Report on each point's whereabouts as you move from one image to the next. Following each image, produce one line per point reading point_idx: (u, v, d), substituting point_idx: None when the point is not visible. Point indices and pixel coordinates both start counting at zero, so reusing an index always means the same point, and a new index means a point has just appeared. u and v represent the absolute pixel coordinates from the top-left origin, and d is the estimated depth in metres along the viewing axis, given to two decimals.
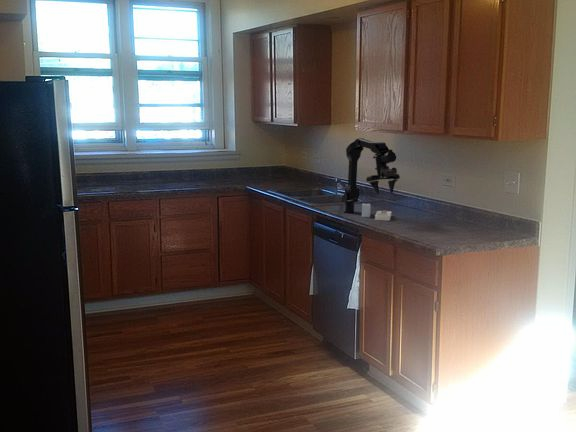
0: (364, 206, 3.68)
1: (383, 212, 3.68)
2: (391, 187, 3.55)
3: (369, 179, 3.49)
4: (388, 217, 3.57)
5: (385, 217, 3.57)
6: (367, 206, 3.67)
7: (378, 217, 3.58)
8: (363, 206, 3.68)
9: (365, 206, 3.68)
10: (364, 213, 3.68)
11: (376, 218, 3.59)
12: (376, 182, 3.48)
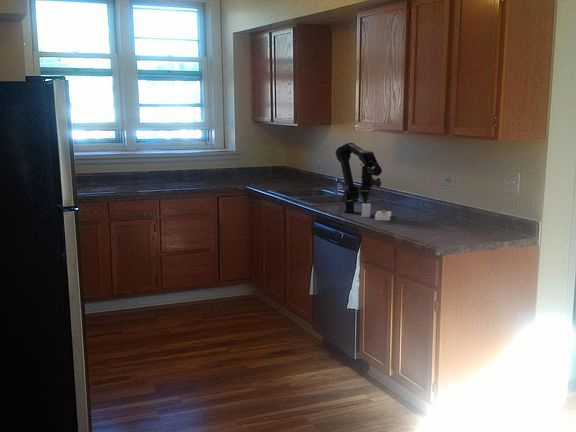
0: (364, 206, 3.68)
1: (383, 212, 3.68)
2: (367, 194, 3.73)
3: (365, 189, 3.59)
4: (388, 217, 3.57)
5: (385, 217, 3.57)
6: (367, 206, 3.67)
7: (378, 217, 3.58)
8: (363, 206, 3.68)
9: (365, 206, 3.68)
10: (364, 213, 3.68)
11: (376, 218, 3.59)
12: (369, 192, 3.62)
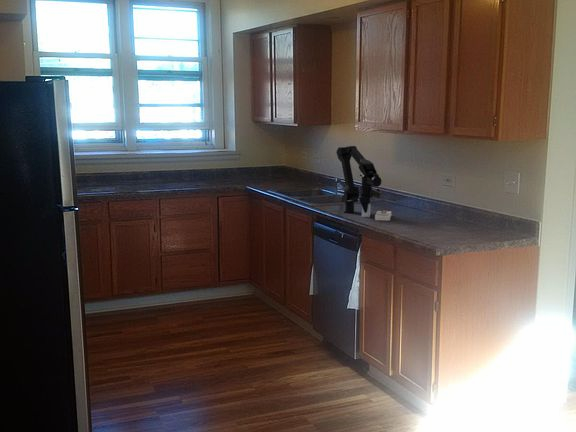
0: None
1: (383, 212, 3.68)
2: None
3: (365, 200, 3.60)
4: (388, 217, 3.57)
5: (385, 217, 3.57)
6: None
7: (378, 217, 3.58)
8: None
9: None
10: (364, 213, 3.68)
11: (376, 218, 3.59)
12: (369, 202, 3.65)
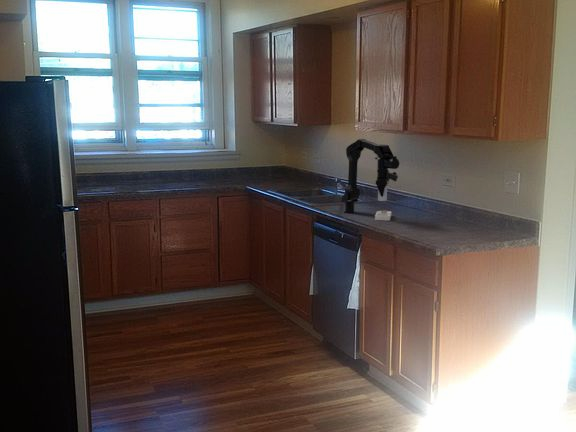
0: None
1: (383, 212, 3.68)
2: None
3: (382, 183, 3.50)
4: (388, 217, 3.57)
5: (385, 217, 3.57)
6: None
7: (378, 217, 3.58)
8: None
9: None
10: (380, 197, 3.58)
11: (376, 218, 3.59)
12: (386, 185, 3.54)
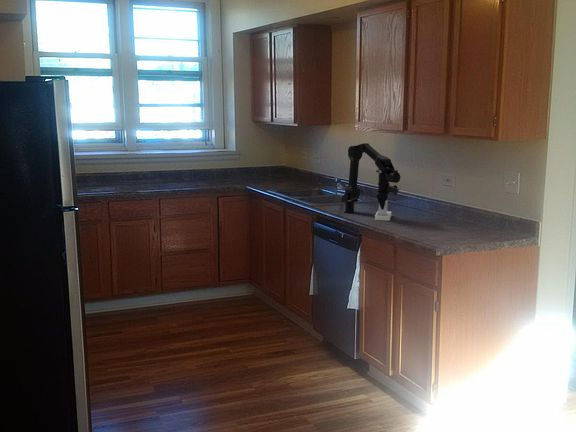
0: None
1: None
2: None
3: (382, 196, 3.50)
4: (388, 217, 3.57)
5: (385, 217, 3.57)
6: None
7: (378, 217, 3.58)
8: None
9: None
10: (381, 210, 3.59)
11: (376, 218, 3.59)
12: (386, 199, 3.55)
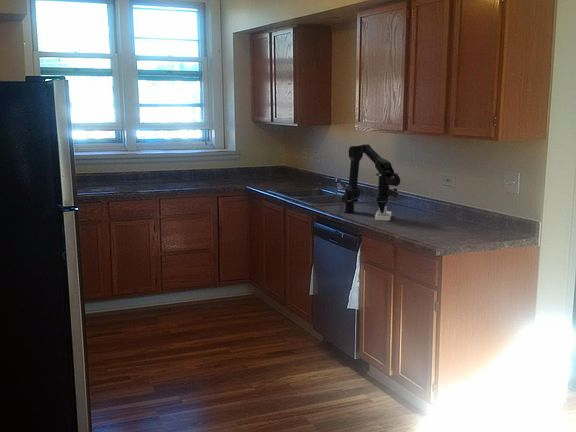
0: None
1: None
2: None
3: (382, 199, 3.51)
4: (388, 217, 3.57)
5: (385, 217, 3.57)
6: (384, 209, 3.58)
7: (378, 217, 3.58)
8: None
9: None
10: None
11: (376, 218, 3.59)
12: (386, 202, 3.54)
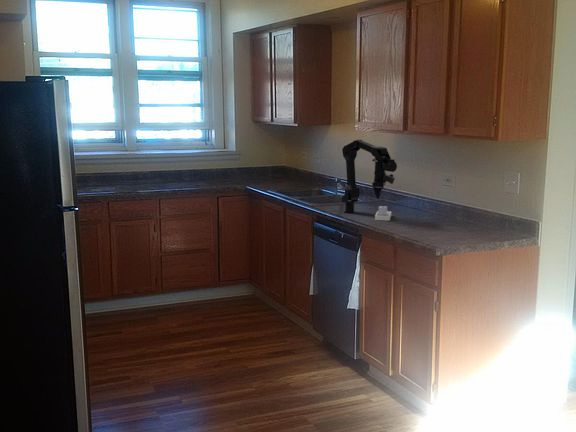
0: (381, 209, 3.59)
1: None
2: None
3: (378, 185, 3.54)
4: (388, 217, 3.57)
5: (385, 217, 3.57)
6: (384, 209, 3.58)
7: (378, 217, 3.58)
8: (380, 209, 3.59)
9: (382, 208, 3.59)
10: None
11: (376, 218, 3.59)
12: (382, 188, 3.57)
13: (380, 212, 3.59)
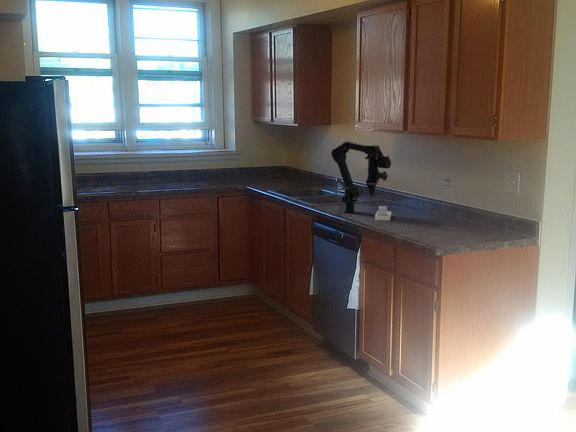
0: (381, 209, 3.59)
1: None
2: (373, 188, 3.77)
3: (372, 182, 3.62)
4: (388, 217, 3.57)
5: (385, 217, 3.57)
6: (384, 209, 3.58)
7: (378, 217, 3.58)
8: (380, 209, 3.59)
9: (382, 208, 3.59)
10: None
11: (376, 218, 3.59)
12: (375, 185, 3.65)
13: (380, 212, 3.59)
